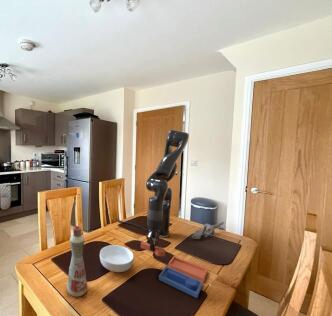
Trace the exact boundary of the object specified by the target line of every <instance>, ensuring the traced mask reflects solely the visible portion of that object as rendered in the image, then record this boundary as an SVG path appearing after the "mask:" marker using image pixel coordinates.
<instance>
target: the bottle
mask: <svg viewBox="0 0 332 316" xmlns="http://www.w3.org/2000/svg"><path fill="white" fill-rule="evenodd" d="M72 232H73V234H72V235H71V236H70V237H69V244H70V251H71V258H70V264H69V268H68V274H67V275H68V276H67V281H66V291H67V293H68V294H69V295H70V296H71V297H74V298H75V297H76V298H77V297H81V296H83V295H85V294H86V292H87V291H88V280H87V273H86V268H85V262H84V261H85V260H84V257H83V253H84V246H85V241H86V240H85V237H84V236H83V235H82V227H81V226H80V225H75V226H73V228H72Z"/></svg>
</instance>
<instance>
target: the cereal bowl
mask: <svg viewBox="0 0 332 316" xmlns="http://www.w3.org/2000/svg"><path fill="white" fill-rule="evenodd" d="M134 257H135V256H134V253H133V252H132V250H130V249H129V248H127V247H125V246H123V245H117V244H110V245H105V246H104V247H102V248H101V249H100V250H99V261H100V263H101V265H102V267H104V268H105V269H106V270H107V271H110V272H112V273H124V272H126V271H128V270H129V269H130V268H131V267H132V266H133V263H134Z"/></svg>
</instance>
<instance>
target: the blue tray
mask: <svg viewBox="0 0 332 316" xmlns="http://www.w3.org/2000/svg"><path fill="white" fill-rule="evenodd" d="M168 270H170V271H173V272H175V273H177V274H180V275H182V276H184V277H186V278H191V279H194V278H192V277H190V276H187V275H185V274H183V273H180V272H178V271H176V270H173V269H171V268H169V267H168V266H164V268H163V270H162V271H161V272H160V274H159V275H158V281H161V282H163V283H165V284H167V285H168V286H171V287H172V288H175V289H176V290H179V291H180V292H183V293H184V294H187V295H189V296H192V297H194V298H195V299H198V298H199V295H200V293H201V290H202V287H203V282H201V281H199V280H197V279H194V280H195V281H196V282H197V289H196V290H195V291H192V290H190V289H188V288H186V286H185V285H183V284H181V283H179V282H177V281H174V280H172V279H170V278H168V277H167V271H168Z"/></svg>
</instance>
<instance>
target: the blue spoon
mask: <svg viewBox="0 0 332 316" xmlns="http://www.w3.org/2000/svg"><path fill="white" fill-rule="evenodd" d="M167 277H168V278H170V279H172V280H174V281H177V282H179V283H181V284H183V285H185V286H186V288H188V289H190V290H192V291H195V290H196V289H197V282H196V281H195V280H194V279H191V278H186V277H184V276H182V275H180V274H177V273H175V272H173V271H170V270H168V271H167Z"/></svg>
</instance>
